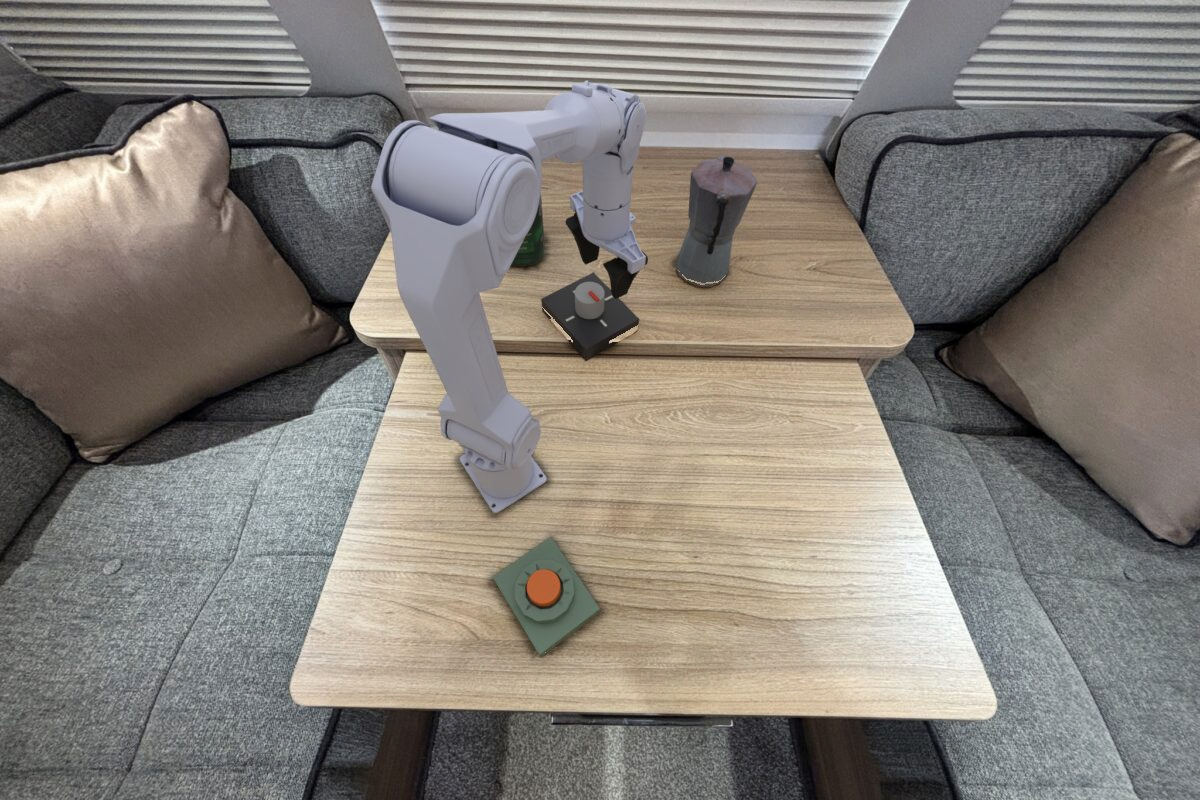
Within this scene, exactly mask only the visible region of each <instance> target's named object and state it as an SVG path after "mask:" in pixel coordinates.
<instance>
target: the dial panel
mask: <svg viewBox="0 0 1200 800" xmlns="http://www.w3.org/2000/svg"><path fill="white" fill-rule="evenodd" d="M584 282H595V283H598V284H599V285H601V286H602V287H603V289H604V292H605V295H604V311H603V313H602V315H601V316H599V317H598V318H595V319H584V318H582V317H580V316H579V315H578V314H577V313H576V310H575V289H576V288H577V286H578V285H580V284H582V283H584ZM540 303H541V312H542V313H543V314H544V315H545V316H546V318H547V319H548V320H549V319H551V317H550V316H549V315H548V314H547V313H546V312H545V311H544V309H545V310H546V311H547V312H548V313H549V314H550V315H551V316H552V317H553V319H555V321H556V322H557V323H558V324H559V325H560V326H561V327H562V328H563V330H564V331H565V332H566V333H567V334H568V335H569V336H570V337H571V339H572V340H573V343H572V342H571V340H567V339H566V341H567V342H568V343H569V344H570V345H571V347H573V349H574V350H575V351H576V352H577V354H579V356H580V357H581V358H582V359H583V360H584V361H585V362H587V361H589V360H591V359H593V358H594V357H596V356H597V355H599V354H601V353H603V352H605V351H606V350H609V349H610V348H612V347H613V346H615V345H617V344H618V342H612V343H610V344H609V341H610V340H612V339H614V338H616V337H617V336H619V335H621V334H623V333H625V332H626V331H628V330H630V329H631V328H633V327H635V326H637V325H638V324H639V325H640V318H639V317H638V316H637V315H636V314H635V313H634V312H633V311H632V310H631V309H630V307H628V305H626V304H625V303H624V302H623V301H622V300H621V299H620V297H619V298H617V299H615V298H614V297H613V296H612V293H611V288H610V287H609V286H608V285H607V284H606V283H605V282H604V281H602V279H601V278H600V277H599V276H598V275H597V274H596V273H595V272H591V273H589V274H587V275H585V276H583V277H581V278H579V279H578V280H575V281H573V282H571V283H569V284H568V285H565V286H563V287H562V288H560V289H558V290H555V291H553V292H552V293H549V294H548V295H546V296H544V297H542V298H541V299H540ZM542 307H543V308H544V309H543V308H542ZM549 321H550V322H551V320H549Z"/></svg>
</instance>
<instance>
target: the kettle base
mask: <svg viewBox="0 0 1200 800" xmlns="http://www.w3.org/2000/svg"><path fill="white" fill-rule="evenodd" d="M542 569H547V570H550V571H552V572H554V573H555V574H556V575H557V576H558V578H559V581H560V585H561V593H560V596H559V598H558V599H557V601H556V602H555V603H554V604H552V605H550V606H547V607H541V606H537V605H536V604H534V603H533V602H532V601H531V599H530V597H529V595H528V593H527V582H528V580H529V578H530V576H531V575H532V574H533V573H534V572H536V571H538V570H542ZM492 579H493V581H494V582H495V584H496V586H497V588H498V589H499V591H500V593H501V594H502V596H503V597H504V599H505V601H506V602H507V604H508V606H509V607H510V609H511V611H512V613H513V614H514V615H515V618H516V619H517V621H518V622H519V625H520V626H521V627H522V629H523V630H524V633H525V634H526V636H527V637H528V639H529V641H530V642H531V645H532V646H533V647H534V649H535V651H536V652H537V654H538V656H539V657H540V658H543V656H545V655H547V654H548V653H549V652H550V651H551V650H553V649H555V647H557V646H558V645H559V644H561V643H562V642H563V641H565V640H566V639H567V638H569V637H570V636H571V635H572V634H574V633H575V632H577V631H578V630H579V629H580V628H582V627H583V626H584V625H586V624H587V623H588V622H590V621H591V620H592V619H594V618H595V617H596V616H598V615H599V614H600V613H601V608H600V606H599V605H598V603H597V602H596V600H595V599H594V597H593V596H592V594H591V593H590V591H589V590H588V588H587V587H586V586H585V584H584V582H583V581H582V579H581V578H580V577H579V575H578V574H577V572H576V571H575V569H574V568H573V567H572V564H570V562H569V561H568V559H567V558H566V556H565V555H564V554H563V552H562V551H561V549H560V547H559V546H558V545H557V543H556V541H555V540H554V539H553V537H552V536H551V537H548V538H547V539H545V540H544V541H543V542H542V543H540V544H538V545H537V546H535V547H534V548H532V549H531V550H529V551H528V552H527V553H525V554H524V555H522V556H521V557H519V558H518V559H516V560H514V561H513V562H512V563H511V564H508V566H506V567H504V568H503V569H502V570H500V571H499V572H497V573H496V574H494V575H493V576H492ZM545 652H546V653H545Z"/></svg>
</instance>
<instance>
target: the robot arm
mask: <svg viewBox="0 0 1200 800" xmlns="http://www.w3.org/2000/svg"><path fill="white" fill-rule="evenodd" d="M571 85H572V86H571V91H569V92H562V93H559V94H557V95H554V96H553V97H552V98H551V99H550V100H549V101H548V102H547V104H546V105H545V107H544V109H543V110H523V111H521V110H520V111H501V112H499V111H498V112H454V113H453V112H450V113H449V112H446V113H444V112H443V113H438V114H435V115H432V116H431V117H429V118H428V119H429V120H430V121H431V122H432V123H433V124H434V125H435V127H437V129H436V128H433V127H432V126H430V125H429V123H428V124H427V123H425V122H423V121H420V120H416V119H409V120H405V121H403V122H400V123H399V124H398V125H397V126H395V127H394V128H393V130H392V131H390V133H389V135H388V137H387V138H386V140H385V142H384V144H383V146H382V149H381V152H380V156H379V158H378V162H377V165H376V169H375V172H374V176H373V179H372V182H371V185H370V188H371V192H372V194H373V196H374V199H375V200H376V203H377V205H378V207H379V209H380V211H381V215H382V216H383V218H384V221H385V224H386V225H387V227H388V230H389V232H390V234H391V242H392V251H393V260H394V269H395V277H396V278H395V279H396V285H397V290H398V291H397V292H398V294H399V296H400V299H401V301H402V303H403V305H404V307H405V310H406V312H407V313H408V316H409V318H410V320H411V322H412V324H413V326H414V329H415V331H416V332H417V334H418V336H419V338H420V340H421V343H422V344H423V346H424V349H425V351H426V352H427V355H428V357H429V359H430V360H431V363H432V365H433V366H434V369H435V371H436V373H437V375H438V377H439V380H440V381H441V383H442V385H443V387H444V389H445V391H446V394H445V395H444V396H443V398H442V400H441V401H440V404H439V406H438V407H437V412H438V413H439V415H440V433H441V436H442V437H444V438H445V439H447V440H448V441H453V442H456V443H458V446H459V447H461V448H462V449H463V451H464V454H462V455H461V456H459V462H460V464H461V465H462V466H463V468H464V470H465V471H466V473H467V474H468V476H469V477H470V479H471V480H472V482H473V484H474V485H475V487H476V488H477V491H479V493H480V494H481V496H482V498H483V499H484V501H485V502H486V504H487V505H488V507H489V509H490V510H491V512H492V513H493V514H498V513H500V512H502V511H503V510H504V509H506V508H508V507H510V506H511V505H513V504H514V503H515V502H517V501H519V500H520V499H522V498H524V497H525V496H527V495H528V494H530V493H531V492H533V491H534V490H536V489H538V488H539V487H541V486H542V485H544V484H545V483H547V481H548V478H547V476H546V474H545V473H544V471H543V470H542V469H541V467H540V466H539V465H538V463H537V462H536V460H535V459H534V458H533V454H534V452H535V450H536V448H537V445H538V443H539V442H540V438H541V431H542V428H541V424H540V420H539V418H537V417H536V416H533V415H532V411H531V410H530V408H528V407H527V406H526V405H524V404H523V403H522V402H521V401H520V400H519V399H518V398H516V397H515V396H513V395H512V394H511V393H510V392H509V389H508V387H507V383H506V380H505V376H504V373H503V370H502V366H501V363H500V359H499V356H498V352H497V349H496V345H495V343H494V339H493V336H492V332H491V329H490V325H489V321H488V317H487V316H486V315H487V314H486V311H485V308H484V304H483V302H482V299H481V294H480V293H482V292H487V291H491V290H494V289H498V288H499V287H500V286H501V283H502V282H503V280H504V278H505V275H506V274H507V273H508V271H509V270H510V268H511V266H512V265H511V264H512V262H513V260H514V258H515V256H516V254H517V252H518V250H519V248H520V246H521V244H522V242H523V240H524V238H525V236H526V234H527V233H528V231H529V230H530V228H531V226H532V224H533V222H534V219H535V216H536V213H537V209H538V205H539V199H540V195H541V196H542V184H543V170H542V169H543V168H542V164H543V163H545V162H547V161H549V160H552V159H553V158H556V159H557V160H559V161H560V162H563V163H566V164H577V163H580V162H581V163H582V165H581V166H582V190H580V191H578V192H576V193H573V194H571V195H569V208H570V209H571V210H572V211H573V212H574V213H573V215H572V216H569V217H567V218H566V219H565V225H566V226H567V228H568V230H569V231H570V233H571V234H572V236H573V239H574V241H575V243H576V246H577V249H578V252H579V256H580V258H581V261H582V263H583V264H584V265H588V264H591V263H593V262H596V261H598V257H599V255H600V249H603V250H605V251H606V252H608V253H610V254H611V255H613V256H616V257H614V258H612V259H610V260H608V261H606V262H603V265H602V266H603V268H604V269H605V271H606V273H607V275H608V278H609V283H610V290H611V293H612V296H613V297H614V298H615V299H617V298H619V299H620V298H621V297H623V296H625V295H627V294H628V292H629V290H630V288H631V286H632V283H633V282H634V280H635V278H636V276H637V275H638V274H639V273H640V271H642V270H643V269H645V268H646V265H647V264H648V263H649V256H648V255H647V254H646V253H645V252H644V250H642V249H641V247H640V244H639V242H638V239H637V237H636V235H635V232H634V229H633V227H632V225H634V224H635V223H636V216H635V215H634V214H633V213H632V212H631V202H632V189H633V174H634V165H635V164H636V162H637V161H638V158H639V154H640V145H641V141H642V138H643V134H644V132H645V131H644V130H645V126H646V121H647V114H648V113H647V109H646V105H645V103H644V102H641V99H640V96H639V95H638V94H634V93H631V92H627V91H624V90H621V89H617V88H613V87H612V86H611V85H608V84H604V83H597V82H596V83H595V82H594V83H591V82H589V80H584V82H582V83H573V84H571ZM467 464H468V465H467ZM540 476H542V477H540ZM493 506H494V507H493Z"/></svg>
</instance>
